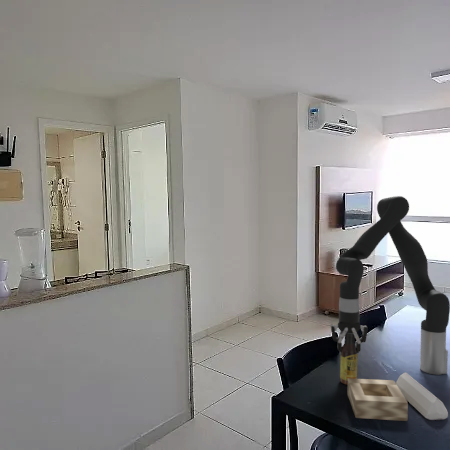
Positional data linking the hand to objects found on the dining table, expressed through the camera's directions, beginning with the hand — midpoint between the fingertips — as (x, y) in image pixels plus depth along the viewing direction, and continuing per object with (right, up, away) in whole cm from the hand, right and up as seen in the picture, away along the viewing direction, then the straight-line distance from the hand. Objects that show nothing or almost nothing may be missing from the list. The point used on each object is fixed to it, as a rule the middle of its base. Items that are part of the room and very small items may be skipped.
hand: (348, 351), depth 156 cm
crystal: (+20, -13, -16) cm, 29 cm away
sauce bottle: (0, -12, +1) cm, 12 cm away
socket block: (+4, -13, -18) cm, 22 cm away
